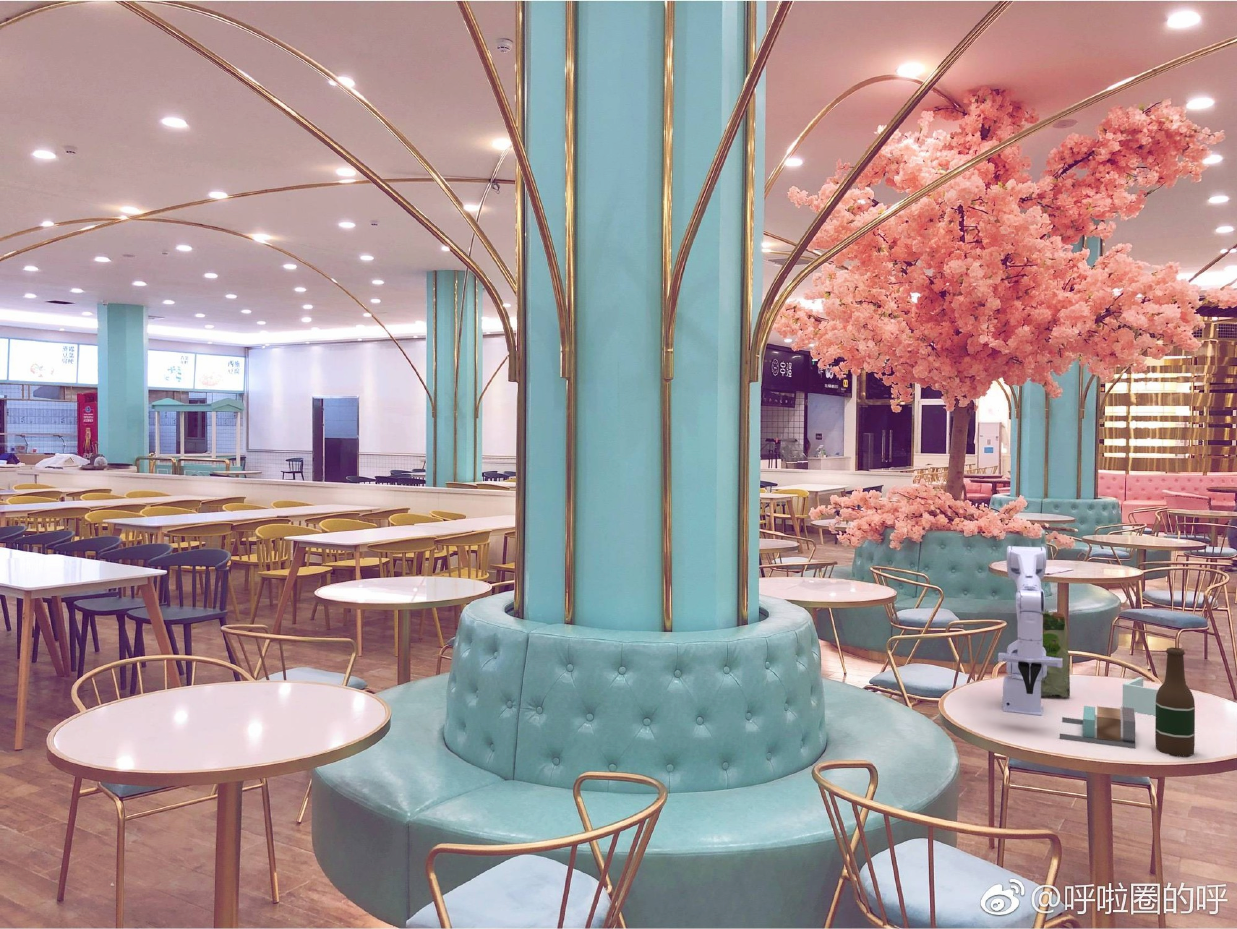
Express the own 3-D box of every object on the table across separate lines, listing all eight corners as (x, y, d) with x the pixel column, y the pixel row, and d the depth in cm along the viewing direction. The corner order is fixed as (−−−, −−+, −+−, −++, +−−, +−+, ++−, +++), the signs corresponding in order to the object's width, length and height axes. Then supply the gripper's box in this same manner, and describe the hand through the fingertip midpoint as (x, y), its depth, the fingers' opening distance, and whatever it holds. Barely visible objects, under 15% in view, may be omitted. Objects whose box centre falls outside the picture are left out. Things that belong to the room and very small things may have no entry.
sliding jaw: (1082, 739, 222) (1082, 718, 222) (1083, 725, 234) (1083, 705, 234) (1096, 741, 221) (1096, 720, 221) (1097, 727, 232) (1097, 707, 232)
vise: (1059, 739, 223) (1059, 714, 223) (1062, 721, 238) (1062, 698, 238) (1135, 749, 216) (1135, 723, 216) (1133, 730, 230) (1133, 706, 230)
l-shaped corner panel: (1172, 721, 240) (1172, 692, 240) (1122, 711, 249) (1122, 684, 249) (1187, 712, 248) (1187, 684, 248) (1139, 703, 257) (1139, 676, 257)
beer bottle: (1194, 759, 209) (1195, 653, 208) (1154, 753, 213) (1155, 649, 212) (1194, 750, 215) (1195, 647, 215) (1155, 744, 219) (1156, 643, 219)
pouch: (1070, 702, 256) (1070, 612, 256) (1023, 697, 261) (1023, 609, 261) (1069, 693, 266) (1070, 606, 266) (1024, 688, 271) (1024, 603, 271)
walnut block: (1096, 741, 222) (1097, 716, 222) (1097, 730, 231) (1097, 706, 231) (1120, 744, 220) (1120, 719, 220) (1119, 732, 229) (1120, 708, 229)
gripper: (997, 638, 230) (996, 693, 230) (1061, 644, 223) (1061, 700, 223) (999, 633, 236) (999, 686, 236) (1062, 639, 229) (1062, 693, 229)
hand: (1029, 693), depth 230 cm, fingers closed
